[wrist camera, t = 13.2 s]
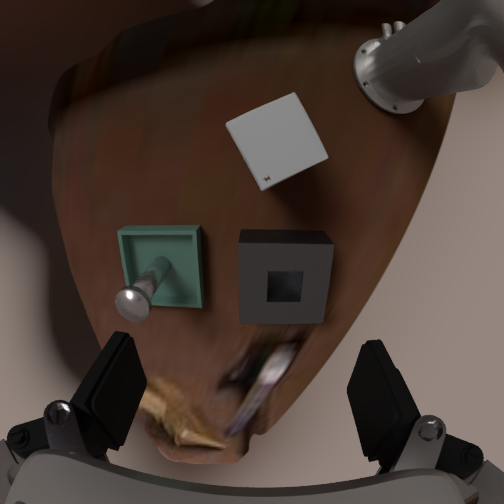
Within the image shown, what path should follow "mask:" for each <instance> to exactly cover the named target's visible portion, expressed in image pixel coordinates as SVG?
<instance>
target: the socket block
mask: <svg viewBox="0 0 504 504" xmlns="http://www.w3.org/2000/svg"><path fill="white" fill-rule="evenodd" d="M238 247H239V324H315V323H323V320H324V314H325V309H326V302H327V296H328V289H329V283H330V276H331V268H332V260H333V252H334V243H333V242H332V241H331V240H330V238H329V237H328V236H327V235H326V233H325V232H324V231H308V230H257V229H241V232H240V237H239V243H238Z"/></svg>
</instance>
